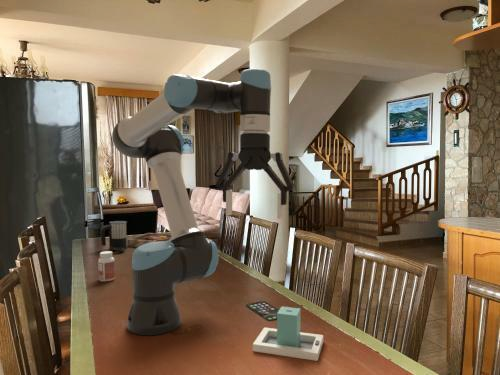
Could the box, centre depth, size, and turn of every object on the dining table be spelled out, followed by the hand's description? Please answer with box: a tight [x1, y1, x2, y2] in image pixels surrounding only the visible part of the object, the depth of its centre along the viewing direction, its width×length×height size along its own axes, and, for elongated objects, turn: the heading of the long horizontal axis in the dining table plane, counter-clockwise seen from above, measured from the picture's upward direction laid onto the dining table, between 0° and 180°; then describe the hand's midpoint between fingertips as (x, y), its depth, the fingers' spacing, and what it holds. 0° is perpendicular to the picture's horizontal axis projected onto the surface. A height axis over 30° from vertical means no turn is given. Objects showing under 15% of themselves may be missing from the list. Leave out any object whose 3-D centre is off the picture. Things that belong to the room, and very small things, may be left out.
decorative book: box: [143, 235, 171, 241], centre depth 226 cm, size 11×16×5 cm
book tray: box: [127, 232, 172, 248], centre depth 227 cm, size 24×22×4 cm
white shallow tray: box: [252, 326, 324, 362], centre depth 100 cm, size 16×10×2 cm, turn 72°
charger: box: [276, 306, 302, 348], centre depth 100 cm, size 5×5×9 cm
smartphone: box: [245, 300, 280, 322], centre depth 124 cm, size 7×1×15 cm
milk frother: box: [99, 220, 128, 253], centre depth 211 cm, size 14×16×15 cm
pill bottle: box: [97, 250, 116, 282], centre depth 158 cm, size 6×6×11 cm
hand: (253, 216), depth 101 cm, fingers open, 13 cm apart
